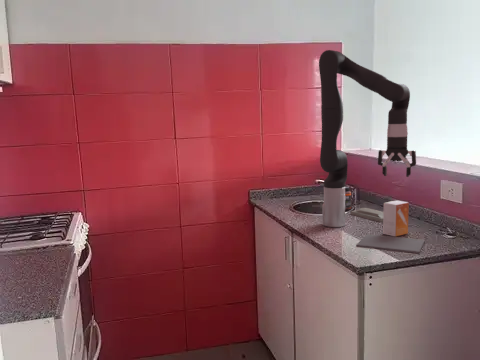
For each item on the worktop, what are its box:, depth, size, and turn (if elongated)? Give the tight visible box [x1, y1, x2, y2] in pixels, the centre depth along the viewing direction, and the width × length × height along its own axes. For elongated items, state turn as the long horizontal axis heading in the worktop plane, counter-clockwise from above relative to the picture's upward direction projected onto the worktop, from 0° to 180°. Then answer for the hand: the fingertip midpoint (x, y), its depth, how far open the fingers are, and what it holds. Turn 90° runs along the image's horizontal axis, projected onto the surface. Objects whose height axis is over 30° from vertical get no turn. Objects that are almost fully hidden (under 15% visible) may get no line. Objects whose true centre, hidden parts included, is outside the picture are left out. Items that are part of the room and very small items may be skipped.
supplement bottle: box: [345, 186, 352, 211], centre depth 232 cm, size 6×6×11 cm
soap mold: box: [350, 207, 383, 223], centre depth 213 cm, size 10×20×4 cm, turn 29°
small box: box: [382, 199, 410, 237], centre depth 182 cm, size 8×6×13 cm
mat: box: [356, 233, 426, 254], centre depth 170 cm, size 22×16×1 cm
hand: (396, 176), depth 180 cm, fingers open, 8 cm apart
